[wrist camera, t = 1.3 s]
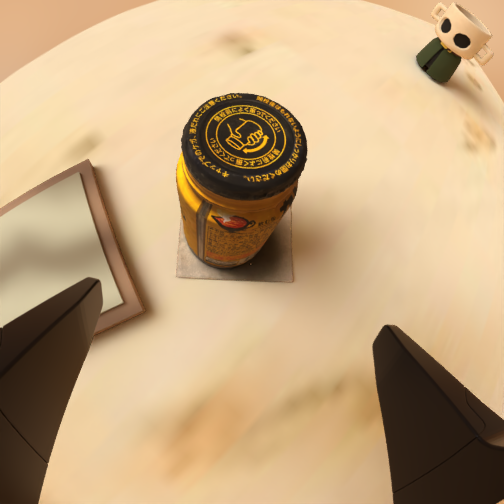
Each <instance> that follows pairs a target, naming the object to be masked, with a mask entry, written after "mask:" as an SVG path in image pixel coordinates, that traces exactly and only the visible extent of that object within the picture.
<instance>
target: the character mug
mask: <svg viewBox="0 0 504 504" xmlns="http://www.w3.org/2000/svg"><path fill="white" fill-rule="evenodd" d="M441 9H442V10H443V11H444V12H445V13H444V15H443V16H442V17H441V18H440V17H439V16H438V13H439V12H440V10H441ZM431 16H432V17H433V18H434V19H435V20H436V21H437V22H438V23H437V24H436V26H435V32H436V34H437V36H438V37H437V38H435V39H433V40H432V41H431V42H430V43H429V44H428V45H426V46H425V47H424V48H423V49H422V50H421V51H420V52H419V53H418V55H417V56H416V59H417V62H418V63H419V65H420V66H421V67H423V66H424V65H426V66H427V67H428V68H429V69H428V70H427V71H426V73H427V74H429V75H430V76H431V77H432V78H434V79H435V80H437V81H439V82H448V80H449V79H450V78H451V76H452V75H453V73H454V72H455V70H456V69H457V67H458V65H459V64H460V62H461V57H462V58H464V59H467V60H469V59H472V58H473V57H474V58H475V59H476V60H477V61H478V63H479V64H481V65H482V66H483V65H485V64H486V63H487V62H488V61H489V60H490V59H491V58H492V57H493V52H492V50H491V49H490V48H489V47H488V46H487V45H486V43H487V42H488V41H489V39H490V38H491V37H492V34H491V32H490V31H489V30H488V28H487V27H486V26H485V25H484V24H483V23H482V22H481V21H480V20H479V19H478V18H477V17H476V16H475V15H473V14H472V13H471V12H469V11H468V10H467V9H466V8H464V7H462V6H461V5H459V4H457V3H455V2H454V3H452V4H451V5H450V6H449V8H447V7H446V6H445V5H444V4H443V3H440V2H439V3H438V4H437V5H436V7H435V8H434V10H433V11H432V12H431ZM481 48H483V49H484V50H485V51H486V54H485V55H484V56H483V57H482V58H481V57H480V56H479V55H478V54H477V53H478V52H479V51H480V49H481Z"/></svg>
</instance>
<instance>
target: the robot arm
mask: <svg viewBox="0 0 504 504" xmlns="http://www.w3.org/2000/svg"><path fill="white" fill-rule="evenodd" d="M102 307H103V295H102V285H101V281H100V280H99V279H97V278H92V277H87V278H85V279H83V280H81V281H79V282H77V283H76V284H74V285H72V286H70V287H68V288H67V289H65V290H63V291H61V292H60V293H58V294H56V295H54V296H53V297H51V298H49V299H47V300H46V301H44V302H42V303H40V304H39V305H37V306H35V307H34V308H32V309H30V310H29V311H27V312H25V313H24V314H22V315H20V316H19V317H17V318H15V319H14V320H12V321H10V322H9V323H7V324H5V325H4V326H3V328H2V327H0V504H38V502H39V498H40V494H41V490H42V486H43V482H44V478H45V474H46V470H47V467H48V464H47V463H49V459H50V456H51V452H52V449H53V446H54V442H55V439H56V436H57V433H58V430H59V427H60V424H61V421H62V418H63V415H64V412H65V410H66V407H67V404H68V401H69V399H70V396H71V393H72V391H73V388H74V385H75V383H76V380H77V378H78V375H79V373H80V370H81V368H82V365H83V363H84V361H85V358H86V356H87V353H88V351H89V348H90V345H91V342H92V338H93V335H94V332H95V329H96V325H97V322H98V319H99V316H100V313H101V310H102ZM373 357H374V366H375V376H376V385H377V391H378V397H379V402H380V407H381V413H382V419H383V425H384V431H385V437H386V444H387V450H388V458H389V465H390V473H391V482H392V491H393V503H394V504H504V420H503V419H502V418H501V417H499V416H498V415H497V414H496V413H495V412H493V411H492V410H491V409H490V408H488V407H487V406H486V405H485V404H484V403H482V402H481V401H480V400H479V399H478V398H477V397H476V396H475V395H473V394H472V393H471V392H470V391H469V390H468V389H467V388H466V387H464V385H463V384H461V383H460V382H459V381H458V380H457V379H456V378H455V377H454V376H453V375H452V374H450V373H449V372H448V371H447V370H446V369H445V368H444V367H443V366H442V365H440V364H439V363H438V362H437V361H436V360H435V359H434V358H433V357H431V356H430V355H429V354H428V353H427V352H426V351H425V350H424V349H422V348H421V347H420V346H419V345H418V344H417V343H416V342H414V341H413V340H412V339H411V338H410V337H409V336H408V335H406V334H405V333H404V332H403V331H402V330H401V329H399V328H398V327H397V326H395V325H384V326H383V327H382V329H381V331H380V332H379V334H378V336H377V337H376V339H375V340H374V343H373Z"/></svg>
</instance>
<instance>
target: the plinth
mask: <svg viewBox="0 0 504 504" xmlns="http://www.w3.org/2000/svg"><path fill="white" fill-rule="evenodd" d="M87 277H92V278H97V279H99V280H100V281H101V285H102V295H103V307H102V310H101V313H100V316H99V319H98V322H97V325H96V329H95V332H94V335H96V334H98V333H101V332H103V331H105V330H107V329H109V328H111V327H114V326H116V325H118V324H120V323H122V322H124V321H127V320H129V319H131V318H133V317H135V316H137V315H139V314H142V313H144V312H146V311H145V308H144V306H143V304H142V302H141V299H140V297H139V295H138V293H137V290H136V288H135V285H134V283H133V281H132V278H131V276H130V273H129V271H128V268H127V266H126V263H125V261H124V258H123V256H122V253H121V250H120V248H119V245H118V242H117V240H116V237H115V234H114V231H113V229H112V226H111V223H110V220H109V217H108V214H107V211H106V208H105V205H104V202H103V199H102V196H101V193H100V190H99V186H98V183H97V180H96V176H95V173H94V169H93V166H92V164H91V163H90V161H89V159H87V160H85V161H83V162H81V163H79V164H77V165H75V166H73V167H71V168H69V169H67V170H65V171H63V172H62V173H60V174H58V175H56V176H54V177H52V178H50V179H49V180H47V181H45V182H43V183H41V184H40V185H38V186H36V187H34V188H33V189H31V190H29V191H28V192H26V193H24V194H23V195H21V196H19V197H18V198H16V199H15V200H13V201H11V202H10V203H8V204H7V205H5V206H4V207H2V208H1V209H0V327H2V328H3V326H4V325H5V324H7V323H9V322H10V321H12V320H14V319H15V318H17V317H19V316H20V315H22V314H24V313H25V312H27V311H29V310H30V309H32V308H34V307H35V306H37V305H39V304H40V303H42V302H44V301H46V300H47V299H49V298H51V297H53V296H54V295H56V294H58V293H60V292H61V291H63V290H65V289H67V288H68V287H70V286H72V285H74V284H76V283H77V282H79V281H81V280H83V279H85V278H87ZM94 335H93V336H94Z"/></svg>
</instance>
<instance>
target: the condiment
mask: <svg viewBox="0 0 504 504" xmlns="http://www.w3.org/2000/svg"><path fill="white" fill-rule="evenodd" d="M181 142H182V146H181V148H182V153H181V155H180V158H179V161H178V164H177V169H176V182H177V190H178V195H179V201H180V207H181V223H180V233H179V245H178V256H177V269H176V277H188V278H207V279H225V280H251V281H280V282H293V273H292V245H291V204H292V202H293V200H294V198H295V196H296V192H297V187H298V179H299V177H300V176H301V173H302V171H303V170H304V166H305V163H306V161H307V158H306V156H307V140H306V136H305V133H304V131H303V128H302V126H301V124H300V123H299V122H298V120H297V119H296V118H295V117H294V116H293V115H292V114H291V113H290V111H288V110H287V109H286V108H284V107H283V106H281V105H280V104H278V103H276V102H274V101H272V100H270V99H268V98H266V97H263V96H259V95H254V94H248V93H246V94H244V93H236V94H234V93H230V94H227V95H224V96H220V97H215V98H212V99H210V100H208V101H206V102H205V103H204V104H202V105H201V106H200V107H199V108H198V109H197V110H196V111H195V112H194V113H193V114H192V116H191V117H190V119H189V121H188V123H187V124H186V125H185V127H184V129H183V136H182V138H181ZM250 263H252V264H251V265H250Z"/></svg>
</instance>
